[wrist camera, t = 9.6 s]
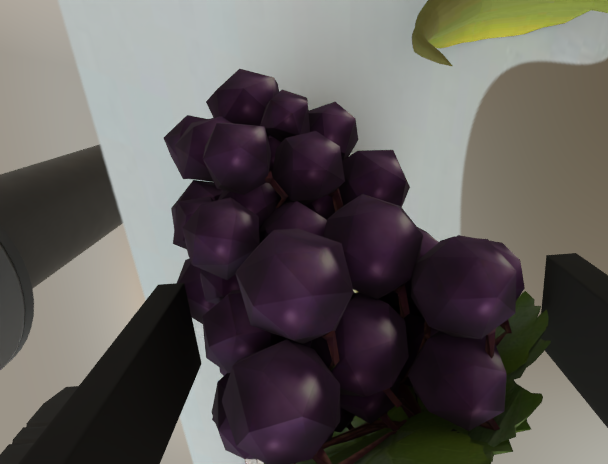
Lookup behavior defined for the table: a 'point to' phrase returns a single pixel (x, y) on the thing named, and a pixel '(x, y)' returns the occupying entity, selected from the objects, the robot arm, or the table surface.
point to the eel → (489, 20)
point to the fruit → (341, 295)
